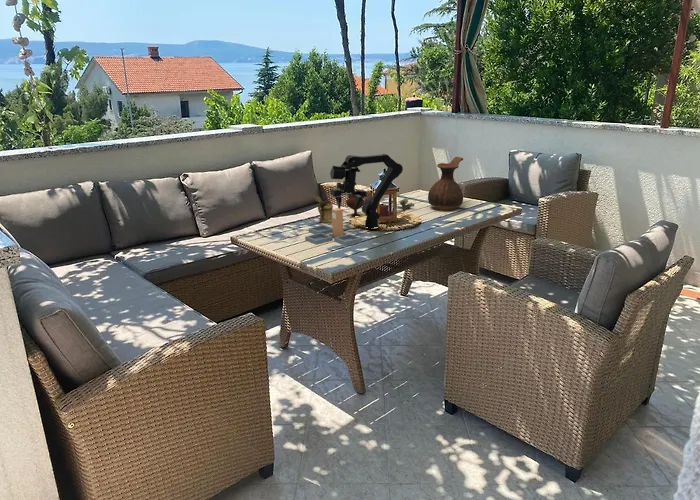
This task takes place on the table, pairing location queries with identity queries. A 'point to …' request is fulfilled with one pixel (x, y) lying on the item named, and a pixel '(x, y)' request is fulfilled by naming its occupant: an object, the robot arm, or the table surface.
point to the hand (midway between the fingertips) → (347, 209)
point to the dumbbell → (405, 203)
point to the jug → (446, 188)
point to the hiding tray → (318, 238)
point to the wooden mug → (324, 209)
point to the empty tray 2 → (348, 239)
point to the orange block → (337, 222)
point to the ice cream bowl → (353, 204)
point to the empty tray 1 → (321, 229)
